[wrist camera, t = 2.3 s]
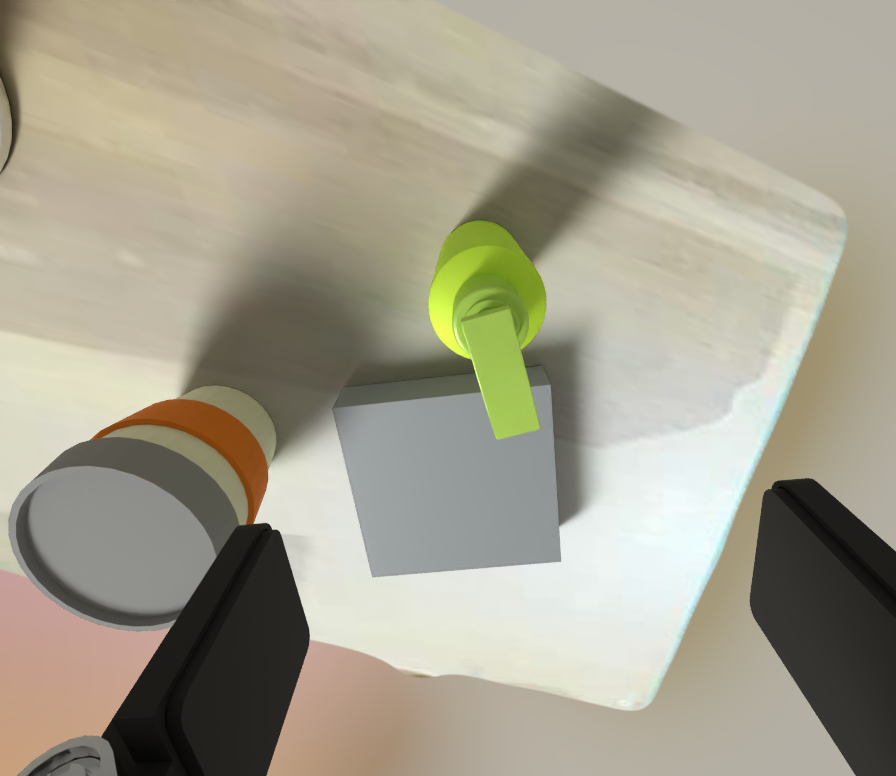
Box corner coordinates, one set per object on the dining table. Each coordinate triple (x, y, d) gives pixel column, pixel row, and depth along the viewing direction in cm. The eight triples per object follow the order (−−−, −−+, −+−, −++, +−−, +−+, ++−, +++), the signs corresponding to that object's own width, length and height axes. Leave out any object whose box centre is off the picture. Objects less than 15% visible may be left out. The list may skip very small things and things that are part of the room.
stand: (343, 387, 42) (332, 408, 38) (542, 365, 41) (550, 384, 37) (379, 545, 48) (372, 577, 44) (553, 530, 47) (561, 561, 43)
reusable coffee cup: (119, 394, 43) (-45, 501, 29) (251, 342, 41) (142, 430, 27) (200, 513, 47) (91, 655, 33) (323, 471, 45) (262, 604, 31)
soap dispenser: (456, 324, 40) (449, 457, 21) (429, 234, 37) (395, 297, 19) (531, 303, 39) (592, 423, 21) (509, 209, 36) (555, 250, 18)
